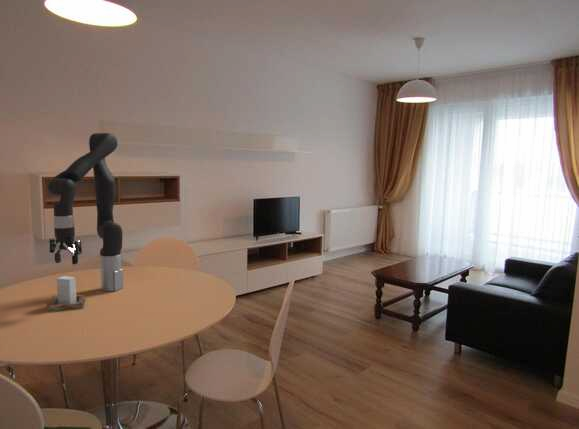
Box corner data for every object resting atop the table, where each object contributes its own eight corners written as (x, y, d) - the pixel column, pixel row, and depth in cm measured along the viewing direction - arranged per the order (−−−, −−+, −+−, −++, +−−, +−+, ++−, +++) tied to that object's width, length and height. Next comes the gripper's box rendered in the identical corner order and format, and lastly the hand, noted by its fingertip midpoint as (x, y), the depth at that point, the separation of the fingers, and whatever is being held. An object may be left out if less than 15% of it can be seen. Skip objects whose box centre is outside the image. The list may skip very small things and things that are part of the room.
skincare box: (77, 303, 178) (75, 276, 177) (70, 306, 174) (69, 279, 172) (64, 302, 179) (63, 275, 177) (57, 305, 175) (56, 278, 173)
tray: (85, 299, 185) (85, 294, 185) (83, 308, 173) (83, 303, 173) (52, 302, 180) (52, 297, 179) (48, 312, 168) (48, 306, 168)
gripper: (85, 225, 174) (87, 262, 176) (57, 223, 177) (59, 260, 179) (71, 228, 166) (73, 266, 169) (43, 226, 170) (45, 264, 172)
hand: (66, 263), depth 174 cm, fingers open, 8 cm apart
